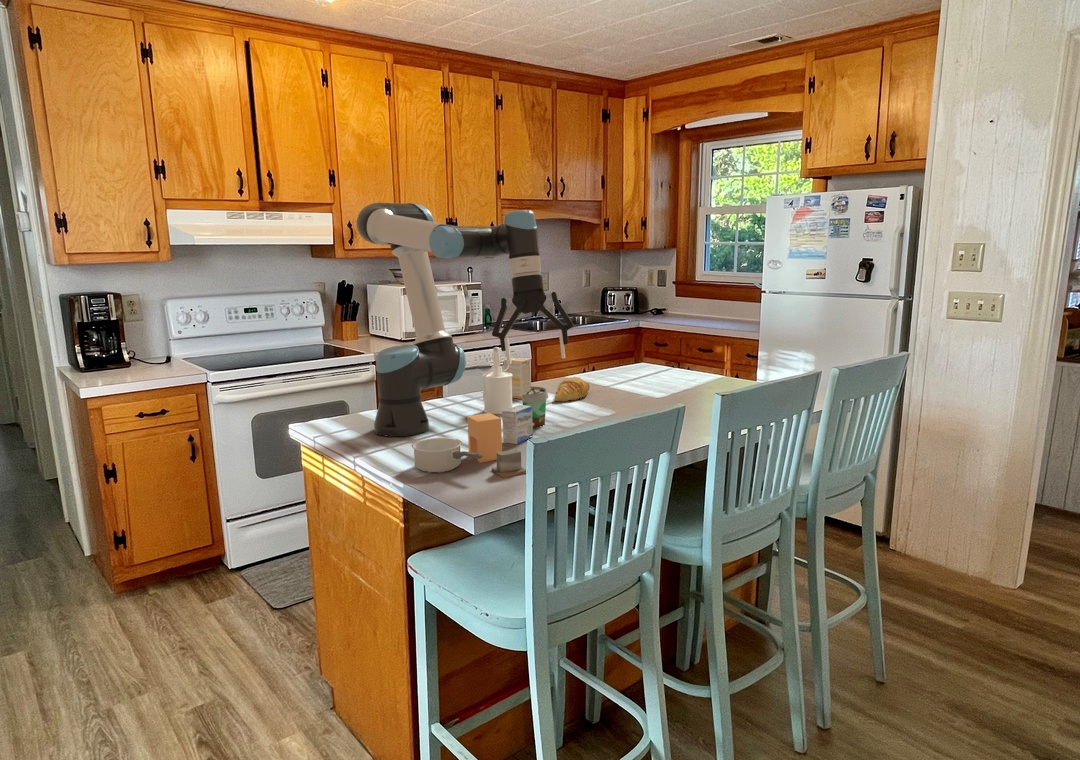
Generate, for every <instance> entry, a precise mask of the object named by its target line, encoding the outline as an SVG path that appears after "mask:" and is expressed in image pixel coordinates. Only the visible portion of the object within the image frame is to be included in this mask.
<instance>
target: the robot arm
mask: <svg viewBox="0 0 1080 760" xmlns="http://www.w3.org/2000/svg"><path fill="white" fill-rule="evenodd" d="M535 216H536V215H535V213H534V212H533V211H532V210H529V209H528V210H527V209H522V210H513V211H509V212H507V213H505V214H504V223H503V224H499V225H498V224H497V225H492V226H491V225H490V226H485V225H484V226H483V225H482V226H479V225H477V226H476V225H475V226H473V225H472V226H471V225H470V226H464V225H463V226H460V225H452V224H446V223H442V222H441V223H440V222H436V221H435V219H434V217H433V215H432V213H431V212H430V210H429V209H428V208H426V207H425V206H424V205H422V204H416V203H412V202H407V203H400V202H398V203H396V202H373V203H370V204H367V205H366V206H365V207H363V208H362V209H361V210H360V212H358V215H357V217H356V228H357V229H356V230H357V232H358V234H359V235H360V237H361V238H362V239H363V240H365V241H366V242H367V243H369V244H373V245H381V246H382V245H385V246H387V245H389V246H390V250H391V254H392V255H393V256H395V257H397V259H398V263H399V267H400V270H401V276H402V280H403V284H404V288H405V292H406V297H407V301H408V307H409V310H410V314H411V319H412V323H413V324H412V325H413V327H414V328H413V329H414V332H415V336H416V338H415V340H414V341H413V343H412V344H401V345H394V346H390V347H387V348H384V349H382V350H380V351H379V352H378V353H377V355H376V358H375V359H376V361H375V366H376V367H375V370H376V378H377V379H376V381H377V391H378V395H377V396H378V408H377V411H376V414H375V415H376V416H375V418H374V423H373V430H374V431H375V432H376V433H377V434H376V433H375V432H374V431H373V432H374V433H375V434H376V435H378V434H381V435H387V436H386V437H389V436H400V437H408V436H407V435H410V436H415V435H414V434H416V435H419V434H418V433H420V434H422V432H423V433H425V432H427V431H428V430H429V429H430V421H429V419H428V416H427V413H426V411H425V408H424V405H423V403H422V390H427V389H433V388H436V387H441V386H443V387H445V386H448V385H450V384H454V383H456V382H458V381H459V380H460V379H462V377H463V376H464V373H465V370H466V363H467V361H466V355H465V351H464V350H463V348H461V345H459V344H457V343H455V342H454V340H453V336H452V335H451V334H450V333H448V332H447V331H446V328H445V323H444V319H443V314H442V310H441V306H440V301H439V297H438V293H437V288H436V284H435V280H434V275H433V271H432V270H433V269H432V265H431V262H430V257H429V253H431V254H433V255H434V257H437V258H439V259H447V260H452V259H459V258H462V259H463V258H479V259H484V260H485V259H494V258H496V257H500V256H501V257H502V256H505V255H508V258H509V259H508V261H509V267H510V275H511V276H513V277H512V279H511V284H512V285H511V286H512V293H513V295H512V298H506V297H502V298H501V300H500V305H501V306H500V309H499V313H498V315H497V318H496V321H495V324H494V326H493V329H492V331H491V336H492V337H494V338H495V337H496V338H498V339H499V340H500V341H499V344H500V351H502V352H505V355H506V356H505V357H506V358H507V365H508V364H511V363H512V361H511V358H512V355H511V354H512V353H511V345H510V338H509V337H506V336H507V335H508V334H509V332H510V330H511V329H512V327H513V326H514V324H515V322H516V321H517V319H518V318H519V317H520V315H521V313H522V314H525V315H527V314H530V313H533V314H535V313H539V312H542V313H543V314H544V315H545V317H547V318H548V319H549V320H550V321H551V322H552V323H554V325H555V326H556V327H557V328H558V329H560V331H559V332H558V337H559V345H560V355H561V360H562V359H566V351H565V345H568V343H569V335H568V331H569V330H570V329H572V328H573V327H574V326H575V325H574V323H573V321H572V320H571V318H570V316H569V315H568V313H567V311H566V310H565V309H564V307H563V305H562V304H561V303H560V301H559V297H558V294H557V292H556V291H553V292H551V293H545V291H544V290H545V289H544V281H543V275H542V274H540V273H541V272H542V263H541V254H540V250H539V249H540V247H539V239H538V226H537V221H536V217H535ZM547 299H548V300H549V301H550V302H552V303H553V304H554V305H553V306H555V308H556V309H557V311H558V313H559V314H560V315H561V317H562V318H563V320H564V321H565V323H566V325H565V324H564V323H563V322H562V321H561V320H559V319H558V318H557V317H556V316H555V315H554V314H553V313H552V311H550V310H549V309H548V308H547V307H546V306H545V302H546V301H547ZM511 304H513V305H514V306H515V307H516V309H514V310H515V311H514V312H513V314H512V315H511V317H510V319H508V322H507V323H506V325H505V326H504V327H503V329H502V330H501V327H502V324H503V321H504V319H505V316H506V314H507V310H508V308H509V307H510V306H511ZM500 330H501V332H500ZM506 358H505V359H506ZM381 435H380V436H381Z"/></svg>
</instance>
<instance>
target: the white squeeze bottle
mask: <svg viewBox="0 0 1080 760" xmlns="http://www.w3.org/2000/svg"><path fill="white" fill-rule="evenodd" d="M500 353H501V348H499V347H497V346H495V347H493V350H492V365H491V368H490V369H488V370H487V371H486V372H485V373H484V374H482V377H481V378H482V380H481V381H482V398H483V399H482V400H483V406H484V407H483V412H484V414H486V413H491V414H493V415H495V416H497V415H502V411H505V410H507V409H510V408H513V407H514V406H513V398H512V374H511V373H507V372H504V371H505V370H507V369H508V368H509V365H510V364H508V367H507V369H505V370H504V369H503V367H502V366H501V361H502V359H503V358H504V359H507V358H506V356H501V357H500Z"/></svg>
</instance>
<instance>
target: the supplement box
mask: <svg viewBox="0 0 1080 760" xmlns="http://www.w3.org/2000/svg"><path fill="white" fill-rule="evenodd" d="M511 361H512V363H511V364H510V365H509V368H508V369H507V367H508V365H507V359H506V358H504V359H503V368H504V369H503V372H507V373H511V374H512V399H513V398H514V399H519V400H522V394H524V395H526V393H527V392H529V391H530V390H531V386H532V380H531V377H532V376H531V359H529V358H519V357H511ZM505 369H507V370H505ZM504 370H505V371H504Z"/></svg>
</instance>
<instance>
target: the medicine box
mask: <svg viewBox="0 0 1080 760" xmlns="http://www.w3.org/2000/svg"><path fill="white" fill-rule="evenodd" d="M512 407H513V408H510V409H507V410H505V411H502V414H501V417H502V418H501V423H502V443H505V444H511V445H516V446H517V445H520V444H522V443H524V442H526V441H528V440H529V438H530V439H532V438H533V437H530V436H534V434H533V433H534V432H533V431H534V428H533V424H532V407H531V406H526V405H523V404H521V405H520V404H519V405H515V406H512ZM527 439H528V440H527ZM525 440H526V441H525ZM519 443H520V444H519Z"/></svg>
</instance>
